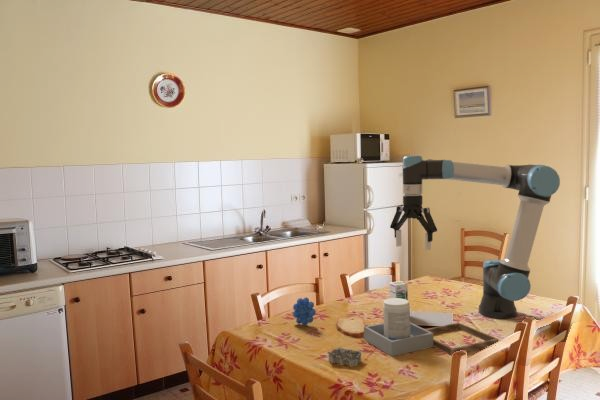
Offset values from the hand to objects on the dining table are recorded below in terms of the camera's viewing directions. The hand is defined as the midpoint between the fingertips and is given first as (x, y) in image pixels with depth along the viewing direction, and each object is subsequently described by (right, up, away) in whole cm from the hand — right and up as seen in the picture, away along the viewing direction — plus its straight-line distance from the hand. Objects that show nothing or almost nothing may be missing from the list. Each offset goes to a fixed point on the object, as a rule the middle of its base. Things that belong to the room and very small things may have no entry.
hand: (413, 247), depth 204 cm
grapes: (-43, -33, +7) cm, 54 cm away
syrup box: (-3, -31, +16) cm, 34 cm away
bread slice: (-23, -33, +2) cm, 41 cm away
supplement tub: (-9, -33, -16) cm, 38 cm away
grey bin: (-9, -34, -16) cm, 38 cm away
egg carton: (-30, -36, -31) cm, 56 cm away
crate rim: (+12, -33, -15) cm, 38 cm away
